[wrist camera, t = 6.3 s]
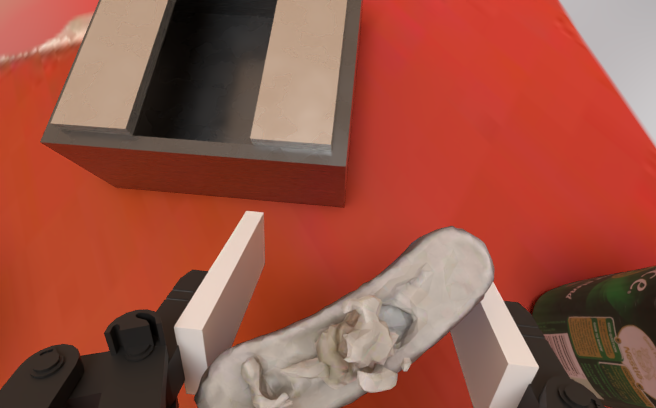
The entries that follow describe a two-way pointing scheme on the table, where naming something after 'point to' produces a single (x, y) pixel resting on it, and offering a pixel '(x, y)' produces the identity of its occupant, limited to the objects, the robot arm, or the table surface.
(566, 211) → the table surface
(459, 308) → the flask
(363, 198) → the table surface
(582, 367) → the coffee jar
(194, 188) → the open box
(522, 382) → the robot arm
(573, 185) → the table surface
